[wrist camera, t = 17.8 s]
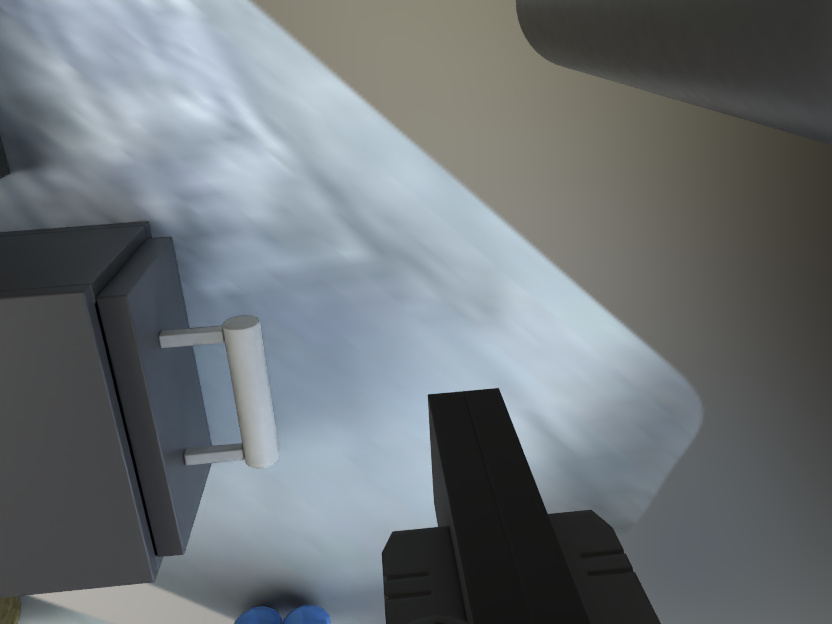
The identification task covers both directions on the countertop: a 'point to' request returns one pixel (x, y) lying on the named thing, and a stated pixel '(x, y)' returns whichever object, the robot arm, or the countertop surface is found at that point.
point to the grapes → (304, 620)
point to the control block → (3, 163)
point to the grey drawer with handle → (177, 390)
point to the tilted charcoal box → (65, 419)
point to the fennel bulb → (9, 610)
